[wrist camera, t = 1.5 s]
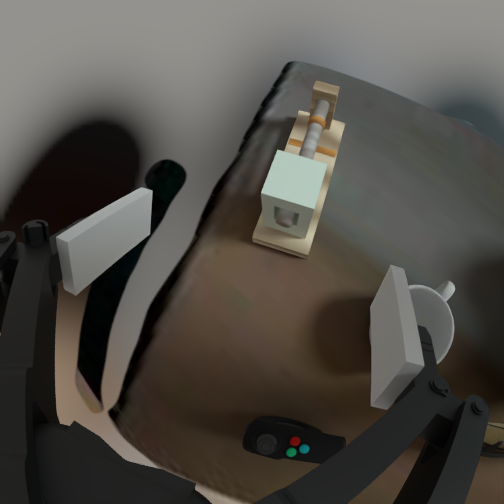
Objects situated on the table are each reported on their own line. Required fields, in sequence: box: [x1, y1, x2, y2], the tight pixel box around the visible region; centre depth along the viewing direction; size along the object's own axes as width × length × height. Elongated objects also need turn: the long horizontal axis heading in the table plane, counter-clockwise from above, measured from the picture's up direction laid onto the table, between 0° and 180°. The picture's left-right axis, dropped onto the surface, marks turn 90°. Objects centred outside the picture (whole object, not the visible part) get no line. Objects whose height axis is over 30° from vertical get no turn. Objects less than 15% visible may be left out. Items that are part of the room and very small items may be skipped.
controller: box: [242, 416, 346, 464], centre depth 33 cm, size 4×12×10 cm, turn 75°
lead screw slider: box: [252, 81, 345, 259], centre depth 43 cm, size 24×8×10 cm, turn 160°
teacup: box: [369, 281, 455, 364], centre depth 37 cm, size 14×11×8 cm
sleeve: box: [261, 150, 327, 239], centre depth 39 cm, size 6×6×10 cm
